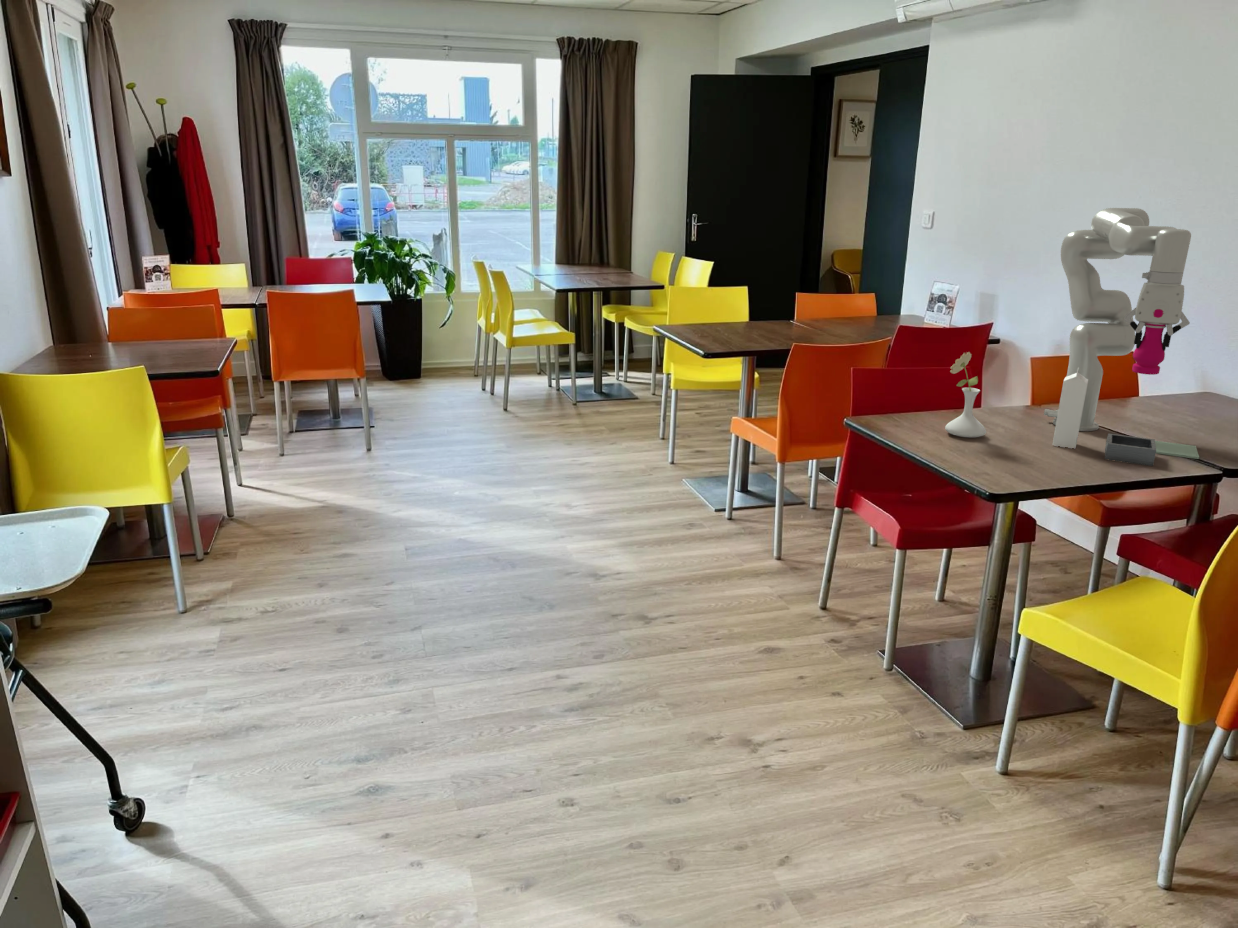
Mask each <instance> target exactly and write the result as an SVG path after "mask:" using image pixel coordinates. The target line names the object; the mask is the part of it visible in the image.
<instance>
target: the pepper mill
mask: <svg viewBox="0 0 1238 928" xmlns="http://www.w3.org/2000/svg"><path fill="white" fill-rule="evenodd" d="M1153 313H1154V314H1153V315H1154V317H1156V318H1160V317H1162V315H1163V314H1164V313H1163V310H1161V309H1156V310H1155V312H1153ZM1144 326H1145V327H1144ZM1144 326H1143V327H1144V328H1145V329H1144V333H1143V335H1142V338H1141V343H1140V347H1139V348H1136V347H1135V349H1134V352H1133V354H1132V357H1133V360H1134V361H1135V363H1133V364H1132V369H1131V370H1132V372H1134V373H1136V374H1142V375H1149V376H1150V375H1153V376H1155V375H1159V374H1160V371H1161V370H1160V369H1161V367H1160V364H1161V363H1162V362H1164V360H1165V358H1166V357H1165V356H1166V352H1165V351H1166V350H1165V351H1163V349H1162V348H1163V333H1164V329H1167V327H1166V324H1158V323H1145V325H1144Z"/></svg>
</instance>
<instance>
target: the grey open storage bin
mask: <svg viewBox="0 0 1238 928" xmlns="http://www.w3.org/2000/svg"><path fill="white" fill-rule="evenodd" d="M1106 436H1107V437H1106V442H1105V447H1104V460H1105V459H1109V460H1108V461H1112V460H1115V461H1114V462H1119V461H1122V462H1121V463H1127V462H1128V463H1129V464H1134V465H1135V464H1136V465H1143V466H1149V467H1150V466H1151V467H1154V463H1155V459H1156V444H1155V441H1156V439H1154V438H1147V437H1139V436H1132V435H1130V436H1129V435H1124V434H1117V433H1116V434H1115V433H1107V435H1106ZM1128 463H1127V464H1128Z"/></svg>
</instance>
